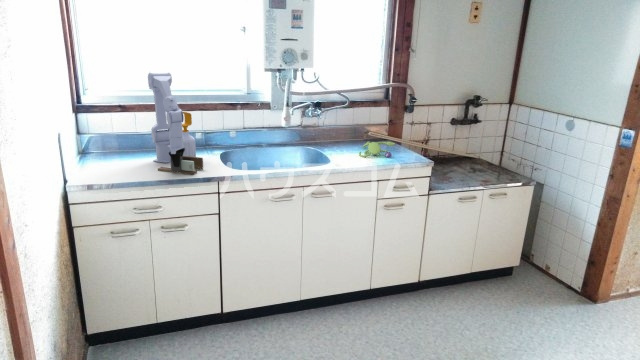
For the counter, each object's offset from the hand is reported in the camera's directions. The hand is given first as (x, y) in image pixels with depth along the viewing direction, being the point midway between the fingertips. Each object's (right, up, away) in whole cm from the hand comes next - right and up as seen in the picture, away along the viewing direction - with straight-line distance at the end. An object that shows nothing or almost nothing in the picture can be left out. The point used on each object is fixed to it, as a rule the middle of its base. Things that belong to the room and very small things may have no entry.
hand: (177, 165), depth 213 cm
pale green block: (+5, -2, -1) cm, 5 cm away
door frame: (0, -2, +4) cm, 5 cm away
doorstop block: (-1, -2, +1) cm, 2 cm away
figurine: (+99, +8, +50) cm, 111 cm away
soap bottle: (-3, +4, +23) cm, 24 cm away
